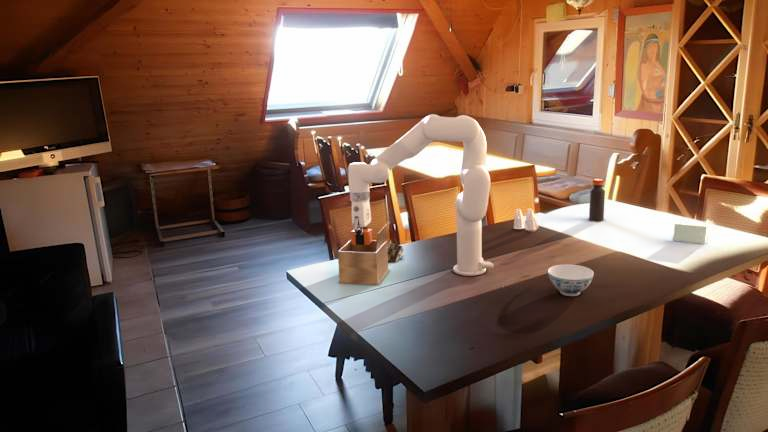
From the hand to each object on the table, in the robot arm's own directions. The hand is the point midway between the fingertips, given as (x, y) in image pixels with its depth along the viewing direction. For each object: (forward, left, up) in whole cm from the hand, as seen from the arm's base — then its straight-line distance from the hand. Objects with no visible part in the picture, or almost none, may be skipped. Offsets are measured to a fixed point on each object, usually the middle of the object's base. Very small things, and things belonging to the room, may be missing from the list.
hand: (362, 242), depth 227 cm
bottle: (-91, -95, -14) cm, 132 cm away
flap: (-8, 0, +3) cm, 8 cm away
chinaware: (-76, +4, -14) cm, 78 cm away
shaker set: (-58, -72, -14) cm, 94 cm away
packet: (0, 0, 0) cm, 0 cm away
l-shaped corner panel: (-128, -67, -14) cm, 145 cm away
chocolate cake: (-6, -23, -14) cm, 28 cm away
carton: (0, -1, -14) cm, 14 cm away
